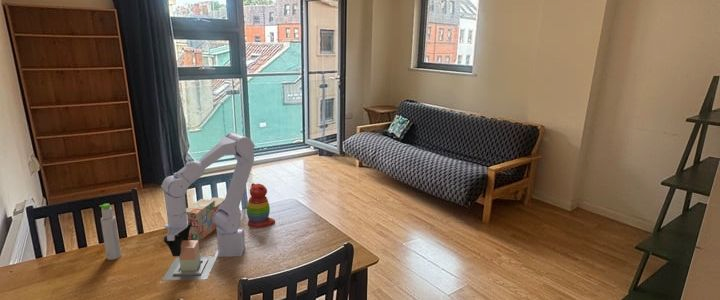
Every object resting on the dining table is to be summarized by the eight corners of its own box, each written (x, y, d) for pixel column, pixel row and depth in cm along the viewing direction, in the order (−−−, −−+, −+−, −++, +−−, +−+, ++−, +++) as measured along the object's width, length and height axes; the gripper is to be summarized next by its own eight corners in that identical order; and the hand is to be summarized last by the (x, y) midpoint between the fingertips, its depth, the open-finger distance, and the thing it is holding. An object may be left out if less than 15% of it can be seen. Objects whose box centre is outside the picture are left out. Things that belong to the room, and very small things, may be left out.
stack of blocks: (214, 216, 176) (213, 190, 173) (228, 218, 175) (226, 191, 172) (184, 239, 156) (182, 210, 153) (199, 242, 155) (197, 212, 152)
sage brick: (200, 263, 140) (199, 251, 139) (196, 271, 135) (195, 259, 134) (185, 263, 139) (184, 252, 138) (180, 272, 135) (179, 260, 133)
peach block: (199, 251, 139) (198, 240, 137) (195, 259, 134) (194, 247, 133) (184, 252, 138) (183, 240, 137) (179, 260, 133) (178, 248, 132)
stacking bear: (277, 223, 172) (276, 184, 167) (258, 231, 165) (256, 190, 160) (260, 215, 179) (259, 177, 174) (241, 223, 171) (239, 184, 166)
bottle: (109, 254, 145) (101, 202, 139) (122, 252, 146) (115, 201, 140) (104, 260, 140) (96, 207, 135) (118, 259, 142) (111, 206, 136)
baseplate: (217, 257, 145) (217, 254, 144) (206, 280, 131) (206, 277, 131) (176, 258, 143) (176, 255, 143) (161, 281, 130) (161, 278, 130)
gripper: (171, 203, 138) (175, 239, 141) (155, 222, 124) (159, 261, 128) (193, 203, 138) (196, 238, 142) (179, 222, 125) (182, 261, 128)
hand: (180, 249), depth 135 cm, fingers open, 7 cm apart
